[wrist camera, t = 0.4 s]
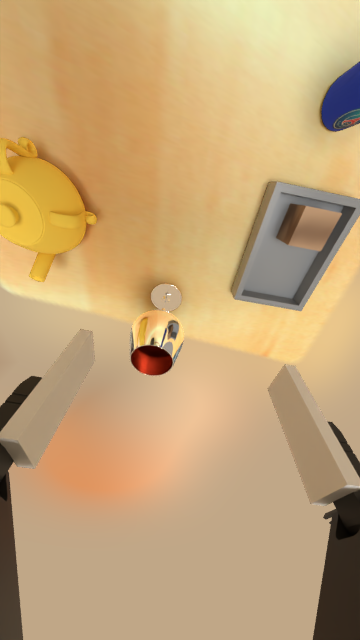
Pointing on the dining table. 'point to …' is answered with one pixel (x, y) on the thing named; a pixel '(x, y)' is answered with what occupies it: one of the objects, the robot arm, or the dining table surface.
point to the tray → (289, 249)
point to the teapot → (39, 206)
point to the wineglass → (157, 333)
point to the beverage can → (343, 101)
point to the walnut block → (307, 226)
